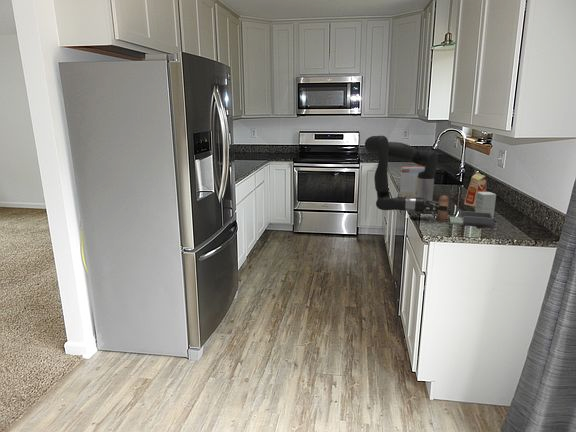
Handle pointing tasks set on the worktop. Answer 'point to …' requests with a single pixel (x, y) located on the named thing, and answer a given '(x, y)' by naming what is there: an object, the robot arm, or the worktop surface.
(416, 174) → the cracker box
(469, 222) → the cart bed
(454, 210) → the worktop surface
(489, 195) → the supplement box
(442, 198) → the yam
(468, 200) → the milk carton
